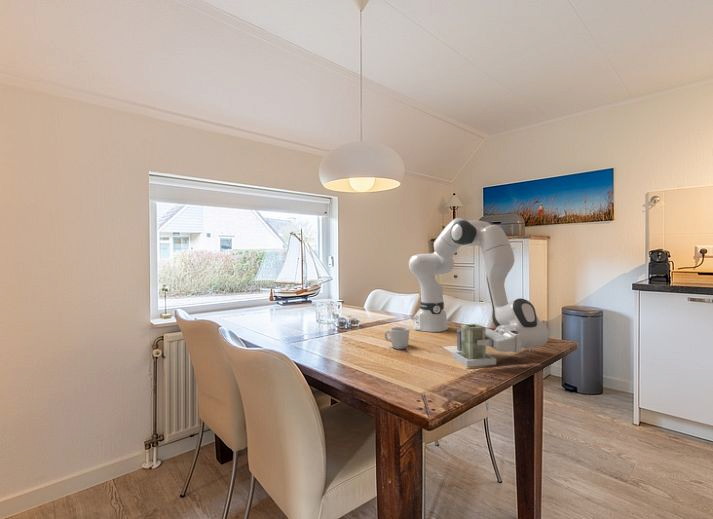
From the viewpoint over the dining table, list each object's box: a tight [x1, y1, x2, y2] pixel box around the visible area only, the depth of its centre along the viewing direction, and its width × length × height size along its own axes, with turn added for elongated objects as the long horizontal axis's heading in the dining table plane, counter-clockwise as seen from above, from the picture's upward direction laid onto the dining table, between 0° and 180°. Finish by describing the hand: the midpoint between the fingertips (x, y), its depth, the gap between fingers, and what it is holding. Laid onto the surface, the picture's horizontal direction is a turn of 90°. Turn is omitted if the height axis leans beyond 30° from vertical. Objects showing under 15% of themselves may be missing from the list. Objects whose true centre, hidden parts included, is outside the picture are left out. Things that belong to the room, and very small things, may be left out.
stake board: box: [442, 328, 462, 354], centre depth 142 cm, size 10×10×9 cm
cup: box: [384, 326, 410, 350], centre depth 150 cm, size 11×8×8 cm
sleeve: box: [460, 323, 487, 360], centre depth 127 cm, size 6×6×11 cm
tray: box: [451, 351, 497, 370], centre depth 127 cm, size 11×11×3 cm
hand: (471, 339), depth 127 cm, fingers closed on sleeve, 6 cm apart
